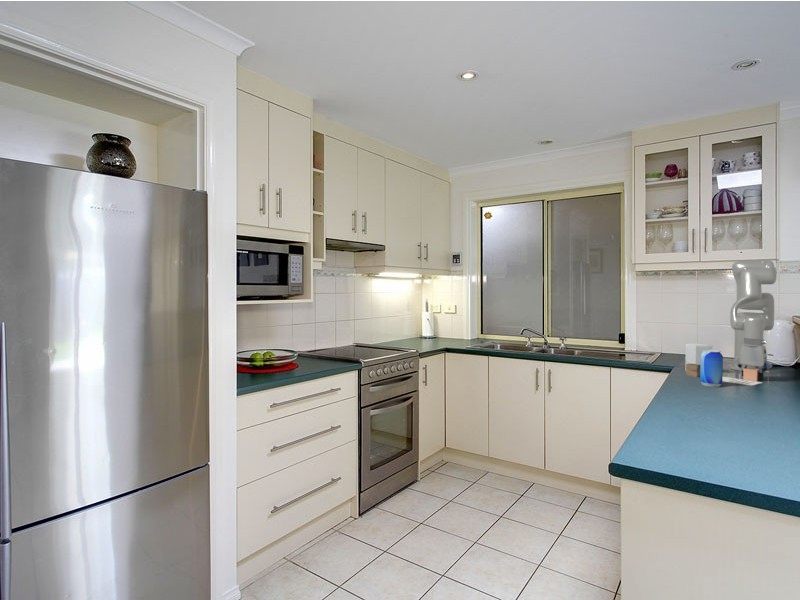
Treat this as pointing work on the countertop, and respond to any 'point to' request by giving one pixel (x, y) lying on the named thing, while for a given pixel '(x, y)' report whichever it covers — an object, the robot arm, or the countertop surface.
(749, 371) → the terracotta cube
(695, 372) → the walnut block
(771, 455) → the countertop surface
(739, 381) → the letter
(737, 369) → the robot arm
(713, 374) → the beer can
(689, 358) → the supplement box
